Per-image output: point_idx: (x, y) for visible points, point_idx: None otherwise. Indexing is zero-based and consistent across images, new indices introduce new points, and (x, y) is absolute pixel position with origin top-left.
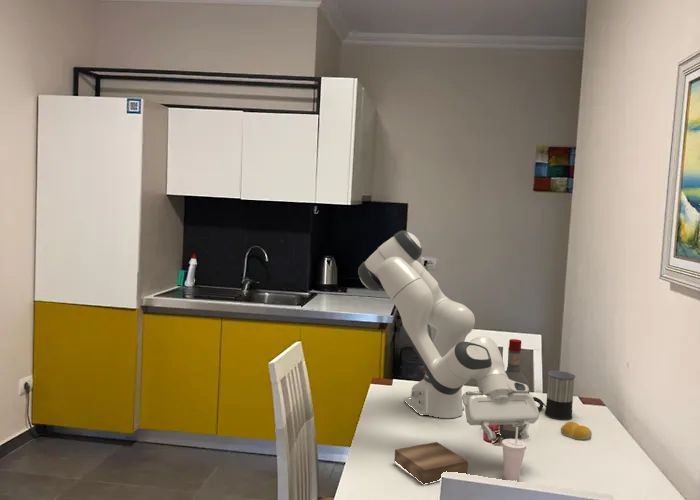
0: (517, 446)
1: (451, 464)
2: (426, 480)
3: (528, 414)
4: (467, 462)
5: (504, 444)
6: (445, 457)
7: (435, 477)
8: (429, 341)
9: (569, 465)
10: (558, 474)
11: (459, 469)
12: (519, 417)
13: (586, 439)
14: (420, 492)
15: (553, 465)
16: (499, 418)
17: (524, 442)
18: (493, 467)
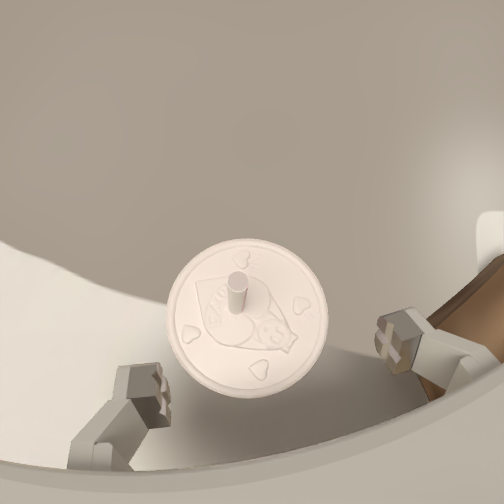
0: (241, 257)
1: (476, 291)
2: (499, 257)
3: (40, 498)
4: None
5: (320, 286)
6: (489, 349)
7: (487, 270)
8: None
9: (7, 432)
10: (54, 371)
11: (439, 316)
12: (150, 480)
13: None
14: (495, 220)
15: (50, 442)
16: (403, 418)
17: (169, 331)
18: (289, 429)
